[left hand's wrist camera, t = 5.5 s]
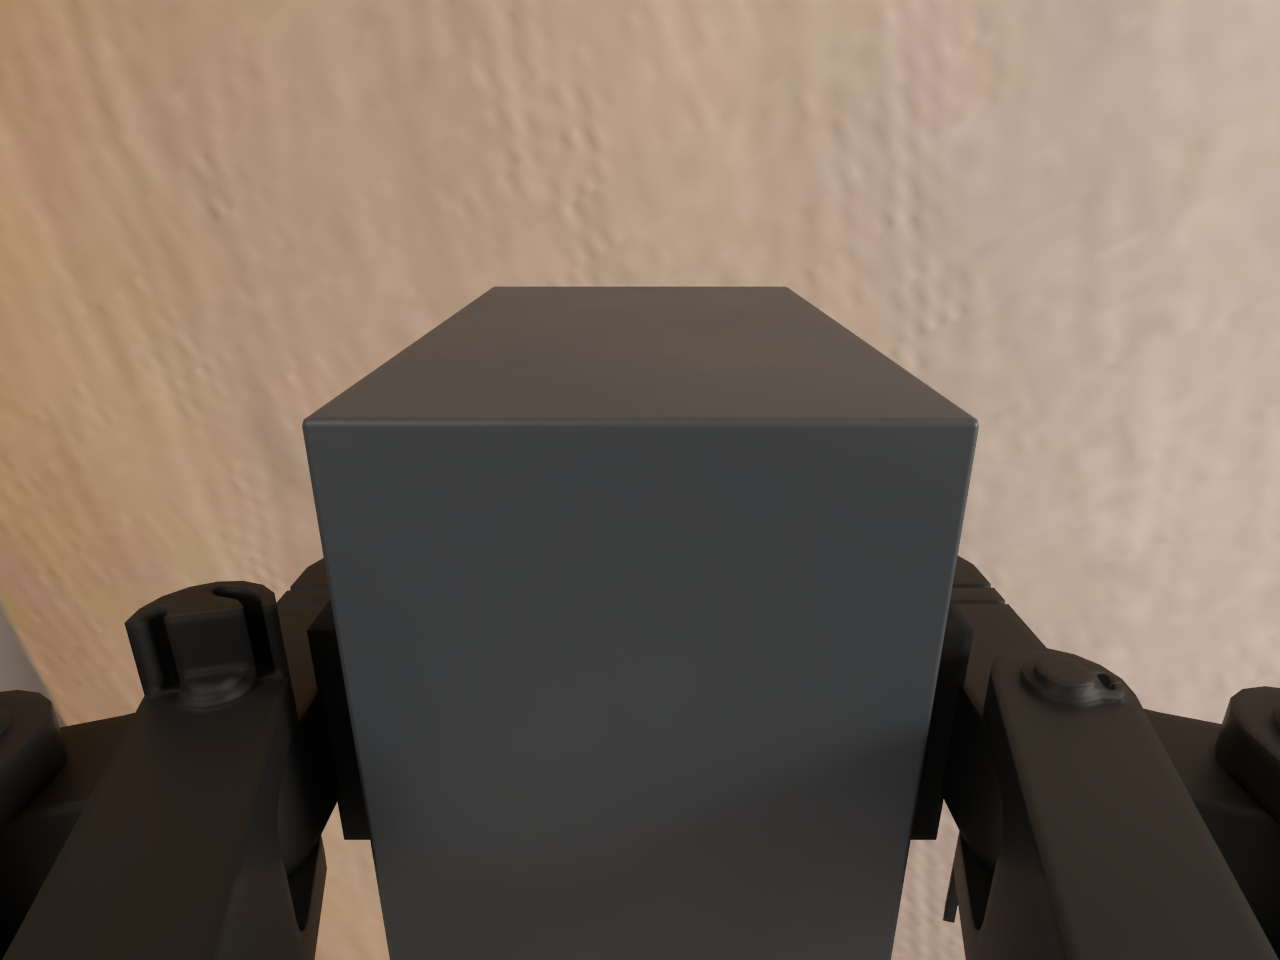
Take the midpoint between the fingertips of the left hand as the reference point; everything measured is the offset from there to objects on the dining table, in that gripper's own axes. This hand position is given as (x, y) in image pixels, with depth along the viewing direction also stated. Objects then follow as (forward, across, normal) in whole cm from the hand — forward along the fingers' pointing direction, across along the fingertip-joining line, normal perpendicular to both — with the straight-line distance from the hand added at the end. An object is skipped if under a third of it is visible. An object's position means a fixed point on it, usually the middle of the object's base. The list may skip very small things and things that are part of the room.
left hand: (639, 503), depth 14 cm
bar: (+1, 0, -8) cm, 8 cm away
